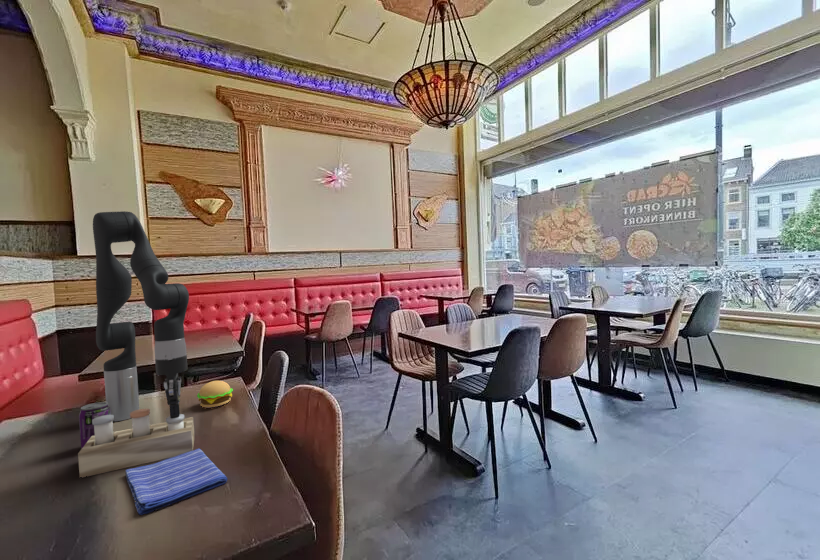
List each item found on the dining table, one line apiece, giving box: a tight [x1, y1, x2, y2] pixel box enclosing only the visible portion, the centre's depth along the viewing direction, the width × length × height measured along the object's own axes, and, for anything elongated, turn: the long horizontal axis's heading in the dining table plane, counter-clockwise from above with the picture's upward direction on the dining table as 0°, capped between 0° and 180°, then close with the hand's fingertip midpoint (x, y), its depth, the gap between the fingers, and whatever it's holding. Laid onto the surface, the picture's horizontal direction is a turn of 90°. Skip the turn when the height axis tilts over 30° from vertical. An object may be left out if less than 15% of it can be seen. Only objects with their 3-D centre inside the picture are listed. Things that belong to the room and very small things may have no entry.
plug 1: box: [92, 415, 114, 446], centre depth 101 cm, size 4×4×8 cm
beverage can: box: [78, 401, 111, 450], centre depth 113 cm, size 7×7×12 cm
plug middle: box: [130, 408, 151, 438], centre depth 105 cm, size 4×4×8 cm
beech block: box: [77, 416, 195, 478], centre depth 105 cm, size 12×24×6 cm, turn 117°
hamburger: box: [196, 380, 234, 408], centre depth 145 cm, size 12×12×9 cm
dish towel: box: [125, 448, 228, 516], centre depth 92 cm, size 17×24×3 cm
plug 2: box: [165, 413, 186, 431], centre depth 109 cm, size 4×4×8 cm
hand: (175, 416), depth 109 cm, fingers closed
